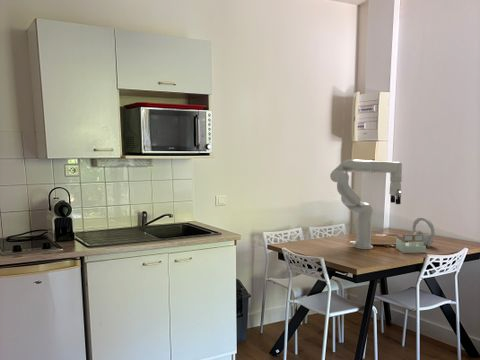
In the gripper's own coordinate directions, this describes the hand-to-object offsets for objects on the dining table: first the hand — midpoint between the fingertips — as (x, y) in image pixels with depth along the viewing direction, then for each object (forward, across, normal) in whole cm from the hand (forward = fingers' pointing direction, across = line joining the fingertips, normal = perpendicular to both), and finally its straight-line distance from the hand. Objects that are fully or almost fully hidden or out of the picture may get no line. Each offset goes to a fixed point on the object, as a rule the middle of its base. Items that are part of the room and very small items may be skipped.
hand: (395, 203), depth 274 cm
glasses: (+23, +13, +5) cm, 27 cm away
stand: (+30, +15, +5) cm, 34 cm away
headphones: (+31, 0, +20) cm, 36 cm away
